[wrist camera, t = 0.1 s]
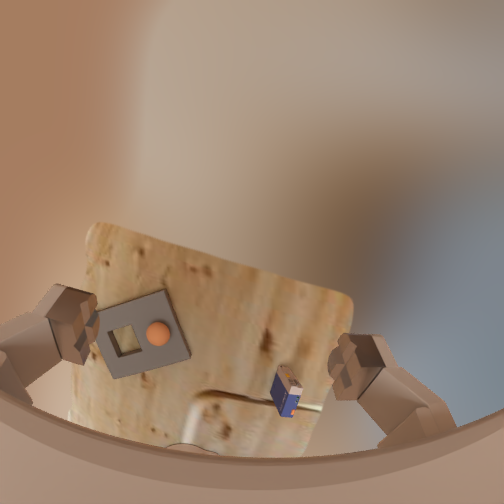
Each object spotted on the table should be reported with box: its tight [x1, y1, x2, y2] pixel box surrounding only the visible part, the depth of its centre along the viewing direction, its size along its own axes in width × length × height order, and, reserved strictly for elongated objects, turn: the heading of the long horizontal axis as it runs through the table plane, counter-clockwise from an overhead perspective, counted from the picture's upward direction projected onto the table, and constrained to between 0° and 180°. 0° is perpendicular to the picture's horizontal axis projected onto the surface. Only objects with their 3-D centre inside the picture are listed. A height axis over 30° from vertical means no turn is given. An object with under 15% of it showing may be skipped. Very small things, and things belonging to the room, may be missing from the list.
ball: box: [146, 322, 170, 346], centre depth 55 cm, size 5×5×5 cm
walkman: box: [270, 365, 303, 418], centre depth 59 cm, size 8×3×12 cm, turn 165°
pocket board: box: [96, 289, 191, 379], centre depth 59 cm, size 16×20×3 cm
